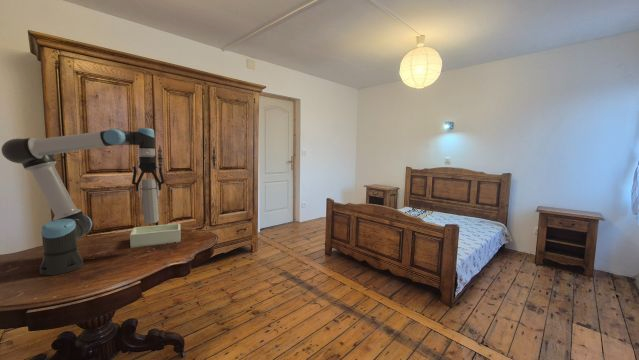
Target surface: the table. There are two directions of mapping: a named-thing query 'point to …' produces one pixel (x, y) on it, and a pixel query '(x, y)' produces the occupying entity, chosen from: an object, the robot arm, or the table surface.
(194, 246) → the table surface
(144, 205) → the water bottle
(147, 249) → the table surface
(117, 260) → the table surface
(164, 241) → the pale green storage bin
